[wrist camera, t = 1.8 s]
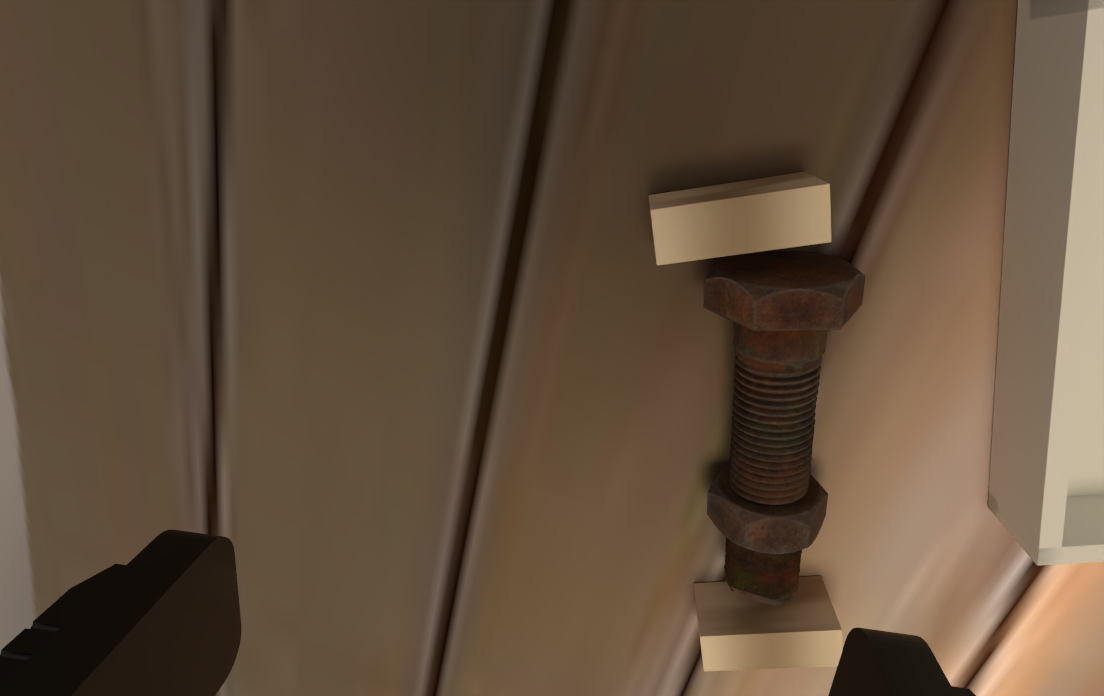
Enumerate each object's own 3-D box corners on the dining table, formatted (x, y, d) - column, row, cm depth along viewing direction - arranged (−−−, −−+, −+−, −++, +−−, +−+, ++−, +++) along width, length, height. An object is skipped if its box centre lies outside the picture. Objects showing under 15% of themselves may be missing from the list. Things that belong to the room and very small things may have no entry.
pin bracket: (805, 171, 26) (829, 183, 23) (822, 609, 33) (842, 665, 30) (648, 195, 27) (650, 210, 24) (697, 615, 34) (703, 671, 31)
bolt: (732, 533, 35) (748, 242, 29) (835, 569, 32) (876, 255, 26) (680, 604, 30) (687, 279, 25) (795, 653, 28) (833, 299, 22)
